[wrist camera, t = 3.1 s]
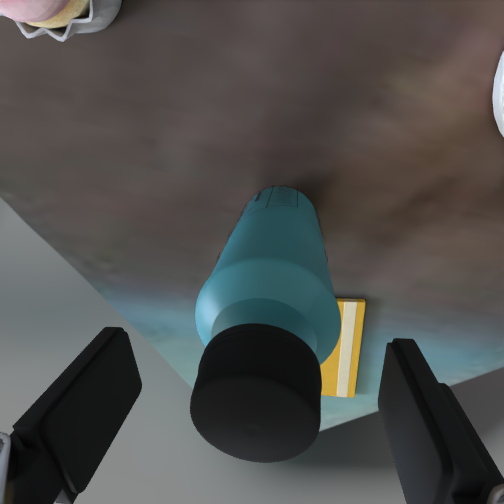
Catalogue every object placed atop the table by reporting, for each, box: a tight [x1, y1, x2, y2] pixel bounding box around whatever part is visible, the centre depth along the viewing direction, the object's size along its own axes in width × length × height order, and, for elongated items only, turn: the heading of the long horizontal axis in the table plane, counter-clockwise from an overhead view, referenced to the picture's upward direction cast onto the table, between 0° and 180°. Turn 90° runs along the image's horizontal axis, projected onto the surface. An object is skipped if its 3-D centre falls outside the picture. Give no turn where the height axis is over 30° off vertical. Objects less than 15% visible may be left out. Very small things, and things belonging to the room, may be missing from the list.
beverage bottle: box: [190, 185, 341, 463], centre depth 17 cm, size 6×7×20 cm
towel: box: [320, 298, 366, 397], centre depth 32 cm, size 16×13×1 cm
